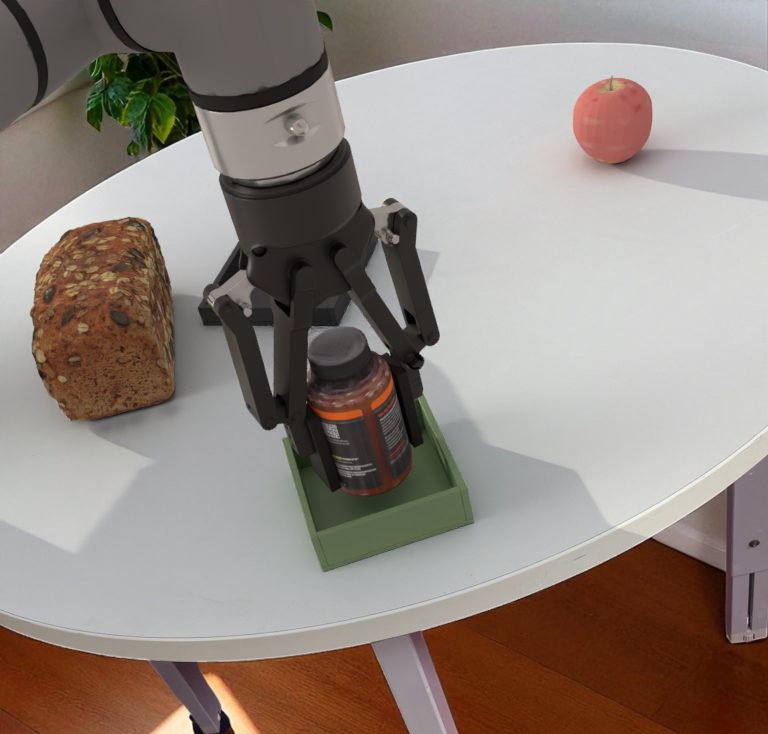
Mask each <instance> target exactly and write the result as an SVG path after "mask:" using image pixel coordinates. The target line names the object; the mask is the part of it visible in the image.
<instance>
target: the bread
mask: <svg viewBox="0 0 768 734" xmlns="http://www.w3.org/2000/svg"><path fill="white" fill-rule="evenodd" d="M161 247H162V246H161V244H160V242H159V238H158V237H157V235H156V232H155V228H153V226H152V224H151V222H149V220H147V219H144V218H141V217H138V216H135V217H134V216H133V217H132V216H126V217H123V218H118V219H109V220H103V221H98V222H92V223H89V224H84V225H82V226H78V227H75V228H73V229H68V230H66V231H65V232H63V234H62V235H61V237H60V238H59V240H58V241H57V242H56V243H55V244H54V245H53V246H52V247H50V249H49V250H48V252H47V253H45V254H44V255H43V257H42V259H41V262H40V264H39V269H38V271H37V272H36V274H35V283H34V288H33V291H34V295H33V301H32V302H33V305H32V307H31V309H30V310H29V317H30V318H31V320H32V326H33V331H32V337H31V339H32V341H31V354H32V356H33V359H34V362H35V368H36V370H37V373H38V374H37V375H38V376H39V378H40V379H41V380H42V383H43V387H44V388H45V390H46V391H47V394H48V396H50V397H51V398H52V399H54V400H55V401H57V404H58V408H59V410H62V412H63V413H64V416H65V417H66V418H68V419H69V420H70V422H73V421H80V422H82V421H95V420H98V419H103V418H106V417H112V416H115V415H118V414H122V413H125V412H130V411H136V410H139V409H142V408H146V407H151V406H155V405H159V404H161V403H163V402H165V401H167V400H169V399H170V398H171V397H172V395H173V393H174V391H175V390H176V383H175V357H176V352H175V346H176V345H175V344H176V342H175V318H174V314H173V313H174V302H173V294H172V286H171V279H170V276H169V275H170V274H169V272H168V269H167V266H166V260H165V258H164V255H163V252H162V248H161Z"/></svg>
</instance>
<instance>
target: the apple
mask: <svg viewBox="0 0 768 734" xmlns="http://www.w3.org/2000/svg"><path fill="white" fill-rule="evenodd" d="M652 126H653V102H652V98H651V96H650V94H649V92H648V91H647V89H645V87H644V86H642V85H641V84H640V83H638V82H636V81H634V80H633V79H629V78H624V77H614V76H613V75H611V76H610V78H605V79H601V80H599V81H596V82H595V83H592V84H591V85H590V86H588V87H587V88H586V89H584V91H583V92H582V93H581V94H580V95H579V96H578V98H577V99H576V101H575V104H574V107H573V111H572V131H573V134H574V137H575V140H576V141H577V143H578V145H579V147H580V148H581V149H582V150H583V151H584V153H586V155H588V156H589V157H590V158H592V159H593V160H595V161H597V162H600V163H603V164H618V163H622V162H625V161H627V160H629V159H630V158H633V156H635V155H636V154H637V153H639V151H641V149H642V148H643V147H645V145H646V143H647V141H648V140H649V138H650V135H651V132H652V128H653V127H652Z"/></svg>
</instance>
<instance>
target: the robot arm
mask: <svg viewBox="0 0 768 734" xmlns="http://www.w3.org/2000/svg"><path fill="white" fill-rule="evenodd" d="M327 52H328V51H327V48H326V42H325V40H324V39H323V35H322V31H321V26H320V22H319V17H318V12H317V8H316V4H315V0H0V133H2V132H3V131H4V130H6V129H7V128H8V127H9V126H10V125H11V124H13V123H14V122H15V121H17V120H18V119H19V118H20V117H21V116H23V115H24V114H26V113H27V112H29V111H30V110H31V109H33V108H35V107H37V106H38V105H39V104H41V103H42V102H43V101H44V100H46V99H47V98H48V97H50V96H51V95H53V93H55V92H56V91H57V90H59V88H61V87H62V86H63V85H65V84H66V83H68V82H69V81H70V80H71V79H72V78H74V77H75V76H76V75H77V74H79V73H80V72H81V71H82V70H84V69H85V68H86V67H88V66H89V65H90V64H91V63H93V62H94V61H95V60H97V59H99V58H100V57H103V56H105V55H110V54H164V53H165V54H166V53H173V54H174V55H175V58H176V61H177V64H178V67H179V69H180V72H181V75H182V78H183V80H184V83H185V86H186V89H187V92H188V95H189V97H190V100H191V103H192V106H193V109H194V111H195V114H196V117H197V120H198V124H199V126H200V130H201V132H202V136H203V139H204V142H205V145H206V148H207V151H208V154H209V157H210V160H211V163H212V165H213V168H214V169H215V170H216V171H218V172H219V176H218V183H219V186H220V190H221V192H222V195H223V198H224V200H225V204H226V208H227V209H228V213H229V216H230V219H231V222H232V225H233V228H234V230H235V233H236V237H237V239H238V242H240V246H241V254H240V259H239V269H240V271H238V272H237V273H236V274H235V275H234V276H232V277H231V278H230V279H229V280H228V281H227V282H225V283H224V284H223V285H222V286H221V287H220V286H219V285H218V284H215V283H213V282H212V283H209V284H207V285H206V286H205V287H204V288H203V290H202V297H203V298H204V299H205V301H206V302H207V303H208V304H209V305H210V307H211V308H212V309H213V310H214V311H215V313H216V314H217V315H218V316H219V318H220V320H221V323H222V325H221V326H222V330H223V333H224V336H225V340H226V343H227V347H228V350H229V354H230V357H231V360H232V363H233V367H234V370H235V374H236V376H237V381H238V383H239V387H240V390H241V393H242V398H243V401H244V404H245V407H246V410H247V411H248V412H249V413H250V414H251V416H252V417H253V418H254V419H255V421H256V422H257V423H258V424H259V426H260V427H261V428H262V430H265V431H272V430H274V429H275V428H277V426H278V425H283V427H284V430H285V433H286V437H288V439H289V442H290V444H291V445H292V447H293V448H294V449H295V450H296V452H297V453H298V454H299V455H300V456H301V457H302V458H303V459H304V458H306V457H308V456H310V459H311V462H312V465H313V468H314V470H315V472H316V474H317V475H318V476H319V477H320V479H321V480H322V481H323V482H324V483H325V485H326V486H327V487H328V488H329V489H330V491H331V492H332V493H333V492H334V491H336V490H338V489H340V488H342V487H341V484H340V481H339V478H338V475H337V471H336V468H335V465H334V462H333V459H332V456H331V453H330V450H329V447H328V444H327V440H326V437H325V434H324V431H323V428H322V425H321V422H320V419H319V416H318V415H317V414H316V413H315V412H314V411H313V410H312V408H311V407H310V406H309V405H308V404H307V401H306V397H307V372H308V345H309V330H310V329H312V310H313V308H315V307H317V306H319V305H320V304H321V303H322V302H324V301H325V300H326V299H327V298H329V297H334V296H338V295H341V294H344V293H346V292H347V293H348V294H349V296H350V297H351V300H352V302H353V303H354V304H355V306H356V307H357V308H358V310H359V311H360V313H361V315H363V317H364V318H365V320H366V321H367V322H368V324H369V325H370V327H371V328H372V330H373V331H374V333H375V334H376V335H377V337H378V338H379V340H380V341H381V343H382V344H383V346H385V348H386V349H387V350H388V351H389V353H388V352H387V351H386V352H385V353H383V354H380V355H381V356H382V357H383V358H384V359H385V361H386V362H387V364H388V366H389V368H390V371H391V374H392V378H393V381H394V385H395V390H396V393H397V397H398V400H399V404H400V408H401V412H402V416H403V420H404V424H405V428H406V431H407V435H408V438H409V443H410V444H411V445H412V446H413V447H414V448H416V447H418V446H419V445H421V444H423V443H424V442H423V437H422V433H421V429H420V425H419V421H418V416H417V412H416V408H415V404H414V400H415V399H417V398H419V397H421V396H422V394H424V386H423V381H422V378H421V377H422V376H421V371H420V370H421V369H422V368H423V366H424V365H425V357H424V356H423V355H422V354H421V352H422V350H424V349H425V348H426V346H427V347H432V346H435V345H436V344H438V343H439V341H440V339H441V333H440V329H439V325H438V322H437V318H436V315H435V311H434V307H433V304H432V301H431V296H430V293H429V290H428V285H427V282H426V279H425V276H424V272H423V268H422V265H421V262H420V261H421V260H420V258H419V254H418V250H417V247H416V246H417V234H418V216H417V214H416V213H415V212H414V211H412V210H411V209H410V208H408V207H407V206H405V205H404V204H403V203H401V202H399V201H398V200H397V199H396V198H395V197H388V198H386V199H385V200H384V201H383V202H382V204H381V206H378V207H374V208H372V207H371V208H368V207H367V206H366V205H365V203H364V201H363V199H362V195H363V194H362V190H361V185H360V181H359V176H358V173H357V168H356V165H355V161H354V156H353V152H352V148H351V145H350V142H349V140H348V139H346V138H345V132H346V125H345V119H344V115H343V111H342V107H341V103H340V99H339V95H338V89H337V85H336V81H335V78H334V74H333V70H332V66H331V62H330V59H329V55H328V53H327ZM373 233H375V236H376V237H377V238H378V240H379V241H380V244H381V248H382V251H383V254H384V257H385V262H386V265H387V267H388V270H389V275H390V277H391V280H392V284H393V287H394V290H395V294H396V297H397V300H398V303H399V307H400V310H401V314H402V317H403V320H404V323H405V327H404V328H402V326H401V325H400V324H399V322H398V321H397V319H396V317H395V316H394V314H393V312H391V310H390V309H389V307H388V306H387V304H386V303H385V301H384V300H383V298H382V297H381V295H380V294H379V292H378V291H377V287H376V286H375V284H374V282H373V281H372V280H371V278H370V277H369V275H368V274H367V273H366V271H365V270H364V269H363V268H362V264H363V261H364V258H365V255H366V252H367V250H368V247H369V244H370V241H371V238H372V235H373ZM254 288H257V289H259V290H260V291H262V292H264V293H266V294H267V295H269V296H270V304H271V309H272V312H273V315H274V325H273V367H272V369H273V370H272V371H273V374H272V375H273V377H272V378H273V379H272V380H273V381H272V383H273V384H272V385H273V386H272V387H273V393H272V389H271V386H270V382H269V378H268V374H267V371H266V367H265V363H264V359H263V355H262V352H261V348H260V345H259V342H258V338H257V334H256V331H255V328H254V325H252V324H251V322H250V321H249V320H248V318H247V317H249V316H250V315H251V314H252V302H251V300H250V295H251V292H252V291H253V289H254Z"/></svg>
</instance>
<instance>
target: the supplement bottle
mask: <svg viewBox="0 0 768 734" xmlns="http://www.w3.org/2000/svg"><path fill="white" fill-rule="evenodd" d="M381 355H382V354H380V353H378V352H376V351H374V350H371V347H370V345H369V342H368V339H367V336H366V334H365V333H364V332H363V331H362V330H361V329H359V328H357V327H354V326H349V325H345V326H344V325H342V326H341V325H340V326H335V327H331V328H328V329H325V330H324V331H321V332H320V333H318V334H317V335H315V336H314V337H313V338H312V339H311V340H310V342H308V358H307V362H308V364H309V369H307V397H306V403H307V404H308V405H309V406H310V407H311V408H312V410H313V411H314V412H315V413H316V414H317V415H318V416H319V419H320V422H321V425H322V428H323V431H324V434H325V437H326V440H327V444H328V447H329V450H330V453H331V456H332V459H333V462H334V465H335V468H336V471H337V475H338V478H339V481H340V484H341V487H342V488H340V490H342V491H344V492H346V493H347V494H350V495H354V496H360V497H370V496H376V495H380V494H383V493H386V492H388V491H390V490H392V489H394V488H396V487H397V486H398V485H399V484H401V483H402V482H403V481H404V480H405V479H406V477H407V476H408V474H409V473H410V471H411V468H412V464H413V457H412V452H411V447H410V443H409V438H408V435H407V431H406V428H405V424H404V420H403V416H402V412H401V408H400V404H399V400H398V397H397V393H396V390H395V385H394V381H393V378H392V374H391V371H390V368H389V366H388V364H387V362H386V361H385V359H384V358H383V357H382V356H381Z"/></svg>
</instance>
